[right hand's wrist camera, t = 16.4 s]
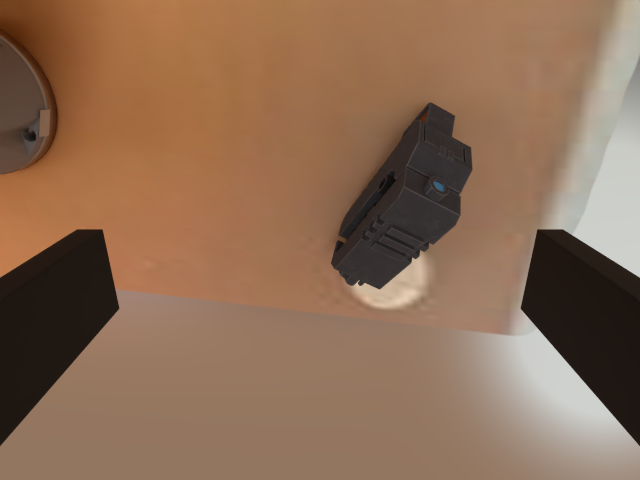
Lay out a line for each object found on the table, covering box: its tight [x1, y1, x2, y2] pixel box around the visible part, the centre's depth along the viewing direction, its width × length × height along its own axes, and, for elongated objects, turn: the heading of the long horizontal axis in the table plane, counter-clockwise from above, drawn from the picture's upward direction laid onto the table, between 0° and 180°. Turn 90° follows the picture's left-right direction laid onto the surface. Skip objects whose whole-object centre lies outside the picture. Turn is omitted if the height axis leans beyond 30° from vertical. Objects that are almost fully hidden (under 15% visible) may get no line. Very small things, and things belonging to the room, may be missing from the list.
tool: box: [331, 103, 472, 289], centre depth 42 cm, size 6×19×15 cm, turn 153°
